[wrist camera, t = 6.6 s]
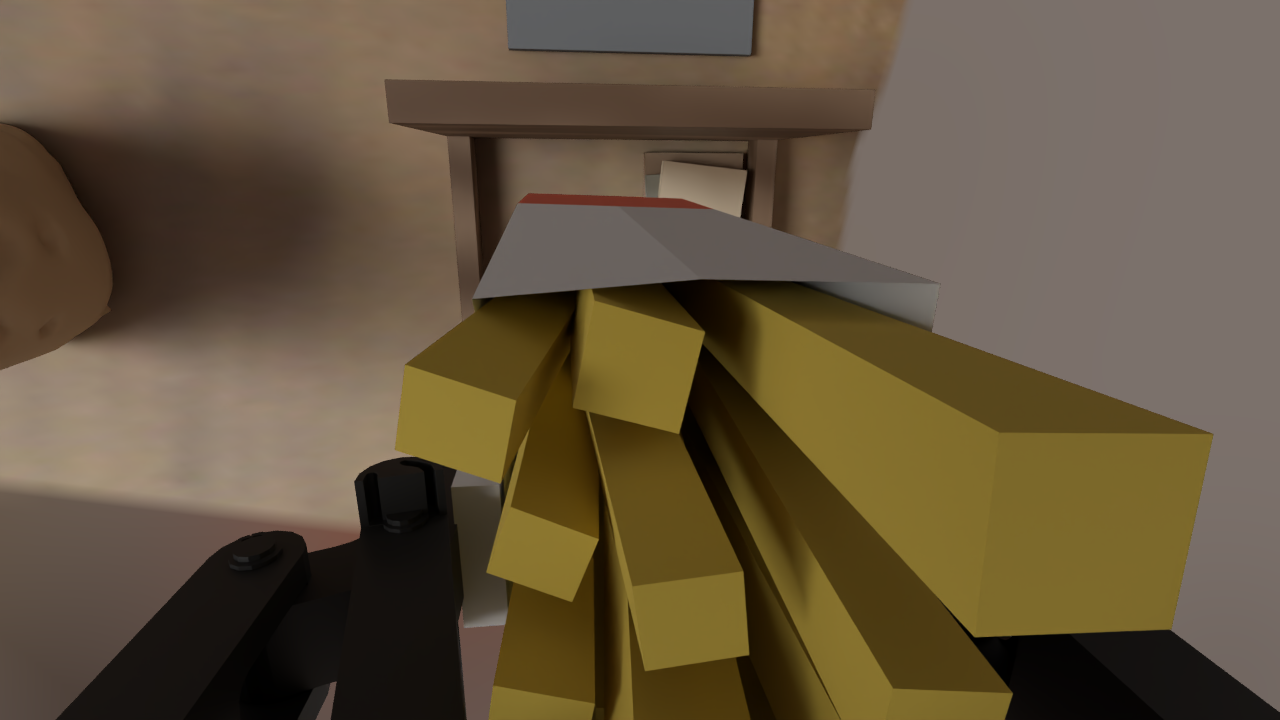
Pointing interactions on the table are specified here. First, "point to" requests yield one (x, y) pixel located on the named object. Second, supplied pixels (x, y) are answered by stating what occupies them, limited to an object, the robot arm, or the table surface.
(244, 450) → the table surface
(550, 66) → the table surface
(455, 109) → the offcut rack
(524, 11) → the slate mat
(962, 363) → the french fries container
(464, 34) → the table surface
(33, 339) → the container
